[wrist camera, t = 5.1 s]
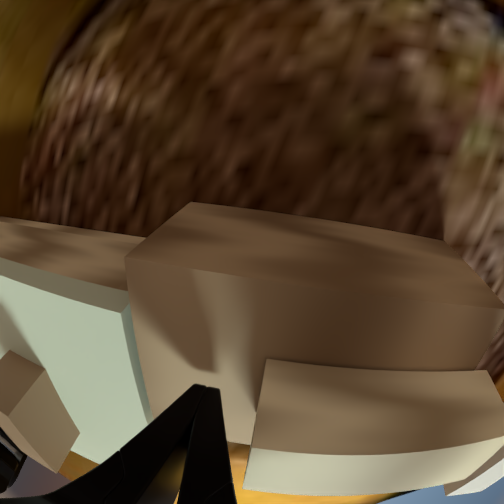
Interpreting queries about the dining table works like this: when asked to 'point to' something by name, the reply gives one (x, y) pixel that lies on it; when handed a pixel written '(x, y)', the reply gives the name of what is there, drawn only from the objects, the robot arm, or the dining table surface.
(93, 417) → the lid
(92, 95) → the dining table surface
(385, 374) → the beige rectangular block
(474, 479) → the white cube block
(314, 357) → the beige rectangular tray
